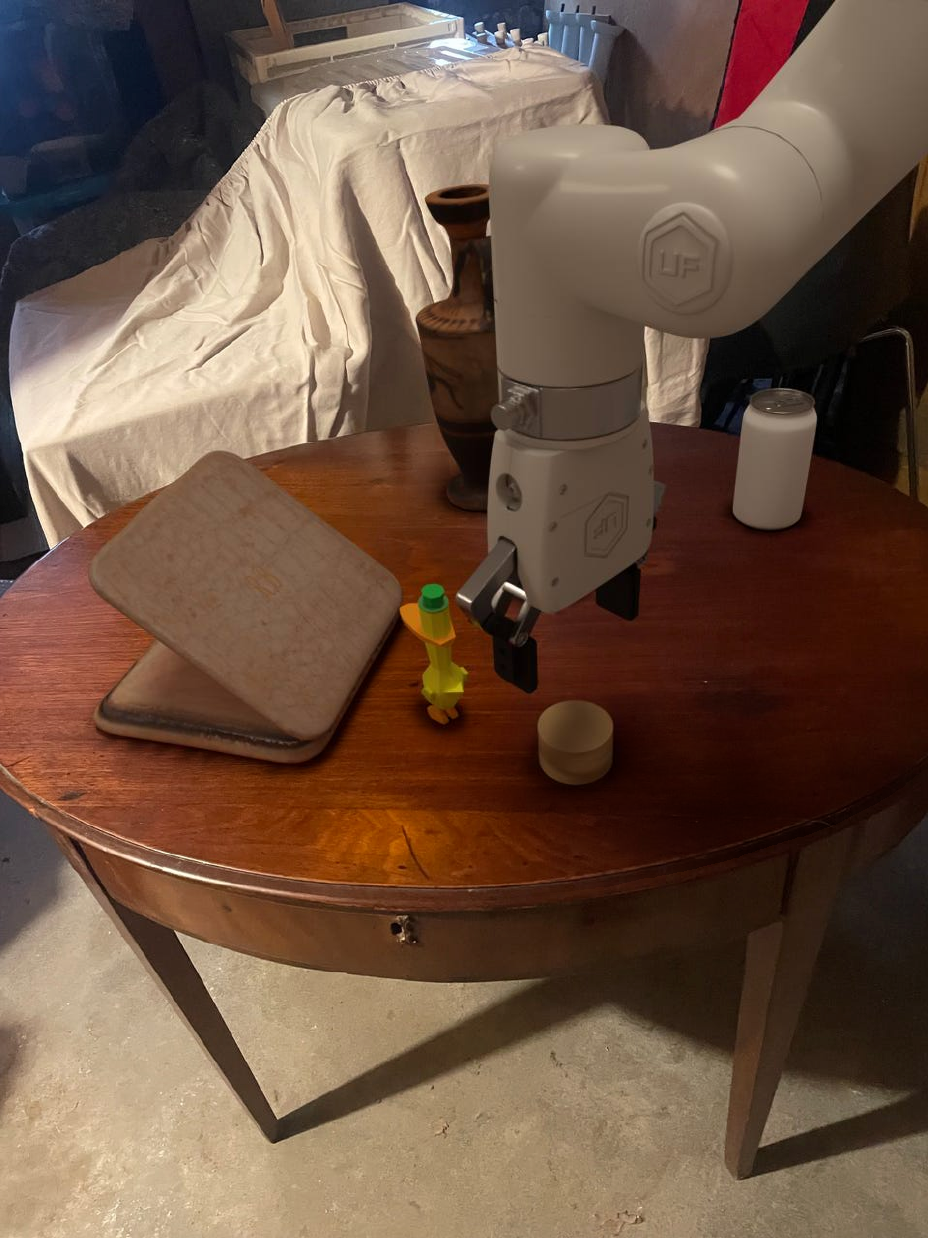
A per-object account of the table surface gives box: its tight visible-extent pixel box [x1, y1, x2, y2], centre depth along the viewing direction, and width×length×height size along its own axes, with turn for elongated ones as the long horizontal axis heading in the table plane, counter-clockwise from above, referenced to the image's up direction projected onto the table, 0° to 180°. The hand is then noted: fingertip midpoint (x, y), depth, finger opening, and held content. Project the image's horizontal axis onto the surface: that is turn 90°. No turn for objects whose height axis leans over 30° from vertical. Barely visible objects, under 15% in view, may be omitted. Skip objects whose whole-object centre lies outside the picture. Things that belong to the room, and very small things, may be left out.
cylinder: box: [537, 699, 614, 786], centre depth 62 cm, size 5×5×3 cm
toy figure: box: [399, 583, 469, 725], centre depth 64 cm, size 7×4×12 cm, turn 37°
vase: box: [414, 183, 499, 512], centre depth 86 cm, size 11×11×30 cm
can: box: [732, 387, 818, 531], centre depth 83 cm, size 6×6×12 cm
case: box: [87, 450, 403, 764], centre depth 69 cm, size 20×21×16 cm
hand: (568, 645), depth 57 cm, fingers open, 9 cm apart
